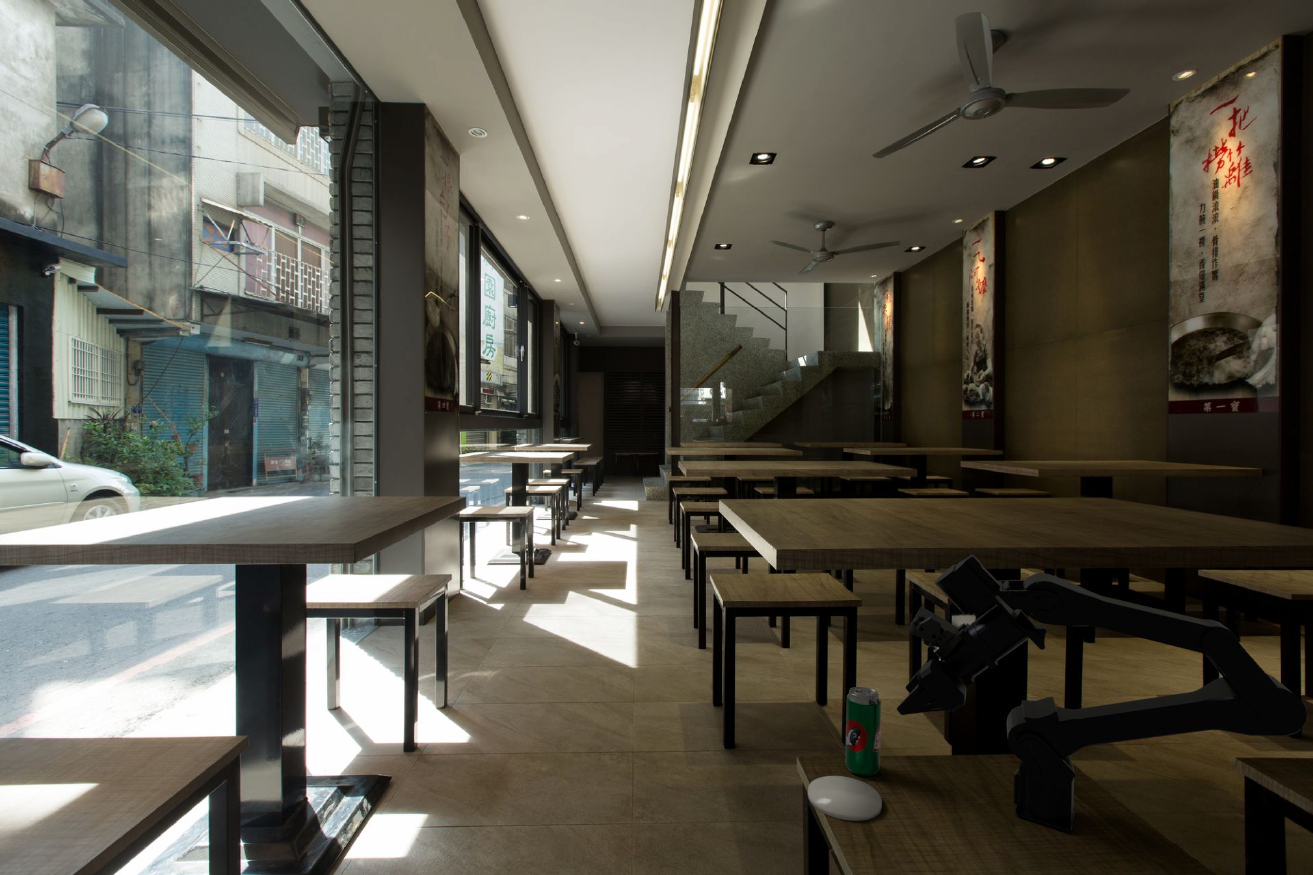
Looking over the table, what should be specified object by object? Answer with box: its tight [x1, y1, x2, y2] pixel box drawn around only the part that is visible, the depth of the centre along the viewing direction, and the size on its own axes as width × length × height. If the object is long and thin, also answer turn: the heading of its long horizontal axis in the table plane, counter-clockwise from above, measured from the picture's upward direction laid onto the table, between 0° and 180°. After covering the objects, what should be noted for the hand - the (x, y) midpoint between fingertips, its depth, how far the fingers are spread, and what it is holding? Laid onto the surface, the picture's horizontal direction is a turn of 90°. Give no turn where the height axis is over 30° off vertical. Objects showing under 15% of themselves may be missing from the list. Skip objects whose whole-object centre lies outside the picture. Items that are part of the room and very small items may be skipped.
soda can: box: [844, 686, 882, 777], centre depth 102 cm, size 5×5×12 cm
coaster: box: [807, 775, 883, 822], centre depth 93 cm, size 10×10×1 cm
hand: (903, 700), depth 99 cm, fingers open, 9 cm apart
